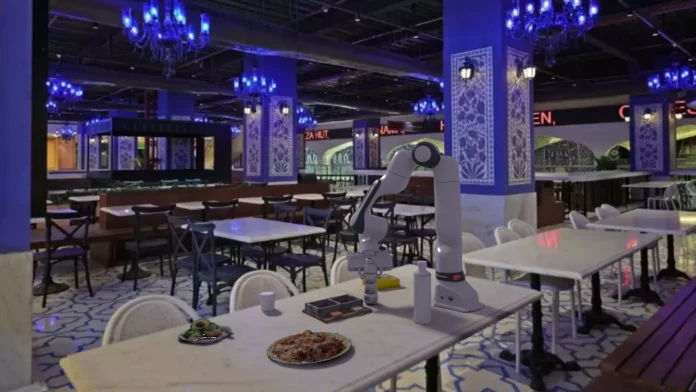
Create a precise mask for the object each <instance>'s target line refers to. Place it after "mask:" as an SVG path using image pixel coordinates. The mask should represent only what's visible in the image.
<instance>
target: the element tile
mask: <svg viewBox="0 0 696 392" xmlns="http://www.w3.org/2000/svg"><path fill="white" fill-rule="evenodd" d="M361 280H362V281H361V283H362V286H364V287H365V282H364V279H361ZM400 280H401V279H400V278H399V277H396V276H394V275H391V274H389V273H382V275H381V279H377V291H383V290H389V289H391V290H392V289H397V288H400V287H401V282H400Z"/></svg>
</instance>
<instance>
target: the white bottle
mask: <svg viewBox="0 0 696 392" xmlns="http://www.w3.org/2000/svg"><path fill="white" fill-rule="evenodd" d="M416 262H417V270H415V271H414V273H413V321H414V323H415V322H416V323H415V324H418V323H419V324H418V325H429V324H431V323H430V322H432V273H431V272H430V271H429V270H427V267H428V261H427V260H417V261H416ZM428 323H429V324H428Z"/></svg>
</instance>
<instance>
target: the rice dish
mask: <svg viewBox="0 0 696 392" xmlns="http://www.w3.org/2000/svg"><path fill="white" fill-rule="evenodd" d="M351 347H352V339H351V338H349V337H347V336H346V335H343V334H341V333H338V332H330V331H312V330H310V329H305V330H304V331H303V332H302V333H296V334H290V335H287V336H284V337H282V338H279V339H277V340H275V341H274V342H273V343H271V344H270V345H269V346H268V348H267V349H266V353H267V356H268V357H269V358H270V359H271V360H273V361H275V362H279V363H283V364H294V365H295V364H296V365H302V364H303V365H304V364H305V365H307V364H314V363H318V362H319V363H320V362H324V361H328V360H331V359H334V358H337V357H339V356H342V355H344V354H345V353H347V352H348V351H349V350H350V349H351ZM274 355H276V356H274ZM276 357H277V358H276ZM279 358H280V359H279ZM302 361H303V362H302ZM309 362H310V363H309Z"/></svg>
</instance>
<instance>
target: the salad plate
mask: <svg viewBox="0 0 696 392" xmlns="http://www.w3.org/2000/svg"><path fill="white" fill-rule="evenodd" d="M203 334H205V335H203ZM233 335H234V332H233V331H232V328H231V326H228V325H220V324H217V323H216V322H212V321H211V320H210V319H208V318H198V319H196V320H194V321H191V323H190V325H189V328H188V329H187V330H184V331H182V332H180V333H178V335H177V338H178V340H179V341H181V340H182V341H181V342H183V341H186V342H185V343H189V342H196V343H195V344H202V343H206V344H211V343H210V342H213V343H216V342H215V341H217V342H219V341H221V340H223V339H224V337H225V338H227V337H228V336H233ZM226 336H227V337H226ZM203 337H210V338H211V337H216V338H215V339H213V338H211V339H210V338H209V339H208V340H207V339H206V340H205V339H204V340H202V339H201V338H203ZM222 338H223V339H222ZM196 339H201V340H197V341H193V340H196ZM220 339H221V340H220ZM218 340H219V341H218Z"/></svg>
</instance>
